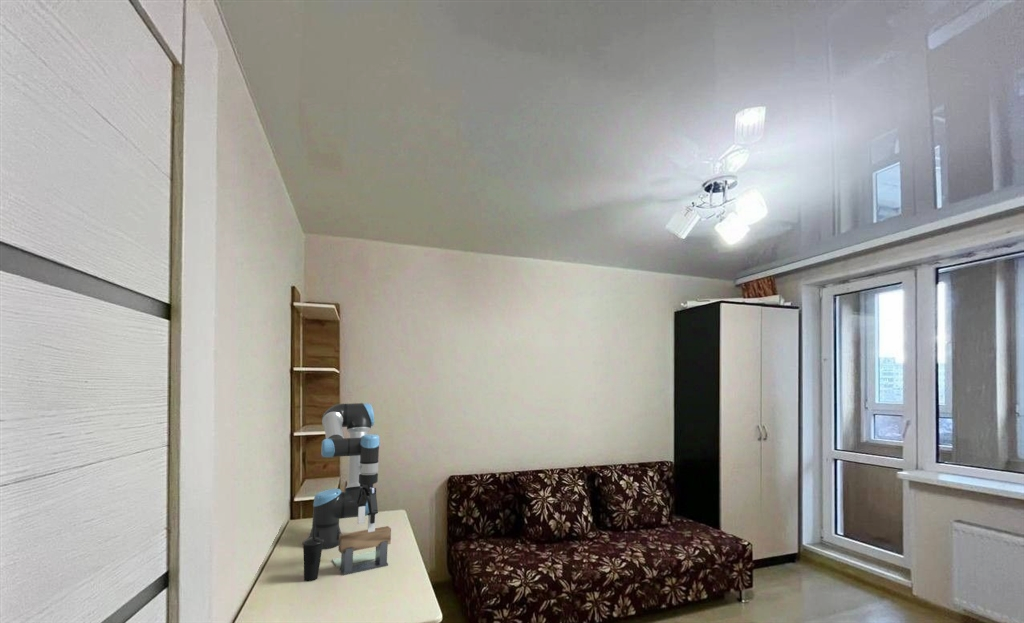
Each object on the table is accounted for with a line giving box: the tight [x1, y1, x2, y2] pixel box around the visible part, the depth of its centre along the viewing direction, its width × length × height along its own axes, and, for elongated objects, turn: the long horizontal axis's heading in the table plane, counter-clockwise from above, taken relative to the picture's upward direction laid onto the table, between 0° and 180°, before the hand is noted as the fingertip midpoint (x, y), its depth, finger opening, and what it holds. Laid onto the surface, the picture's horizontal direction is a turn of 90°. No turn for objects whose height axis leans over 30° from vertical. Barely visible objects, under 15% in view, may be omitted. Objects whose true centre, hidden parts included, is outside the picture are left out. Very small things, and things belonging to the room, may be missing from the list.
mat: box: [331, 550, 376, 569], centre depth 201 cm, size 9×18×1 cm, turn 124°
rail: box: [338, 525, 392, 554], centre depth 194 cm, size 4×20×6 cm, turn 124°
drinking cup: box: [302, 524, 324, 582], centre depth 183 cm, size 8×8×20 cm
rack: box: [338, 541, 389, 576], centre depth 193 cm, size 6×18×10 cm, turn 124°
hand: (366, 527), depth 194 cm, fingers open, 13 cm apart
